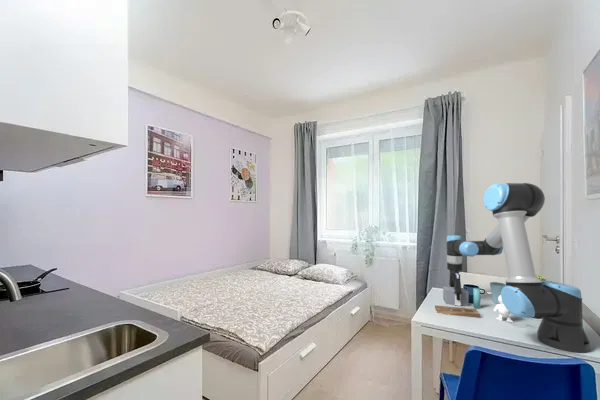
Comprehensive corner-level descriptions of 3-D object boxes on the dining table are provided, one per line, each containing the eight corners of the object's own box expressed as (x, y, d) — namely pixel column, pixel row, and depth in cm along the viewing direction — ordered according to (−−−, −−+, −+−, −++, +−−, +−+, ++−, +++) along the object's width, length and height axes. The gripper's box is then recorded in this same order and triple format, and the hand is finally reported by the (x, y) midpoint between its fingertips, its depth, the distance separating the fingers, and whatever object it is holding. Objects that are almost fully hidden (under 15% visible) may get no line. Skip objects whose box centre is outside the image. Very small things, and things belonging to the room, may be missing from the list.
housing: (468, 305, 152) (468, 290, 152) (446, 303, 155) (445, 288, 155) (464, 301, 160) (464, 286, 160) (443, 299, 163) (443, 284, 163)
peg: (481, 309, 147) (480, 289, 147) (474, 308, 148) (474, 289, 148) (479, 307, 150) (478, 288, 150) (473, 306, 151) (472, 287, 151)
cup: (509, 302, 156) (508, 284, 156) (503, 305, 152) (503, 286, 152) (493, 299, 162) (493, 281, 163) (488, 302, 158) (487, 283, 158)
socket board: (480, 317, 135) (480, 314, 135) (437, 313, 141) (437, 310, 141) (475, 311, 143) (475, 308, 143) (434, 308, 149) (434, 305, 149)
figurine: (514, 320, 132) (513, 294, 132) (515, 324, 128) (515, 297, 128) (493, 317, 136) (492, 292, 136) (494, 320, 132) (493, 295, 132)
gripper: (467, 267, 146) (468, 310, 145) (457, 259, 168) (457, 296, 167) (451, 266, 148) (452, 308, 147) (443, 258, 170) (444, 295, 170)
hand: (455, 302), depth 157 cm, fingers open, 11 cm apart
